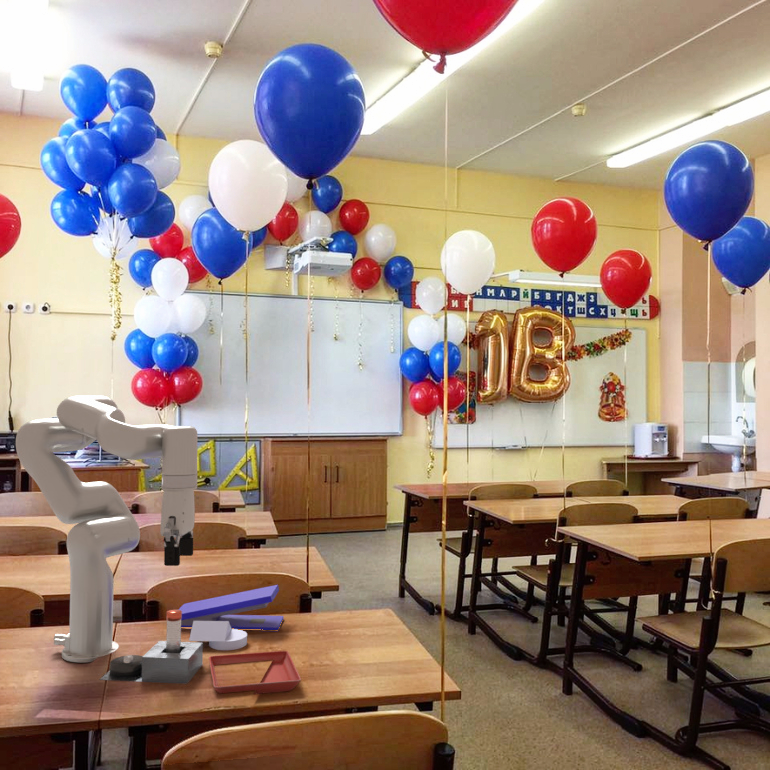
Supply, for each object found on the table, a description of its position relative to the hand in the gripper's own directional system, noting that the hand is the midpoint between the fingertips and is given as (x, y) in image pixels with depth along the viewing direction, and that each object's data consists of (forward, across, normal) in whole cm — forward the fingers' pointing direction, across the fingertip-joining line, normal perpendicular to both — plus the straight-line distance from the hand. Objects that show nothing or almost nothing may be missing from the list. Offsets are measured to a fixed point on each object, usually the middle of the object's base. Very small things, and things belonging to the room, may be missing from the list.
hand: (179, 560), depth 162 cm
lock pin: (+24, +1, -1) cm, 24 cm away
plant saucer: (+26, 0, +17) cm, 31 cm away
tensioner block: (+25, +1, -5) cm, 26 cm away
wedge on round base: (+26, -18, +4) cm, 32 cm away
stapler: (+26, -37, +2) cm, 45 cm away
